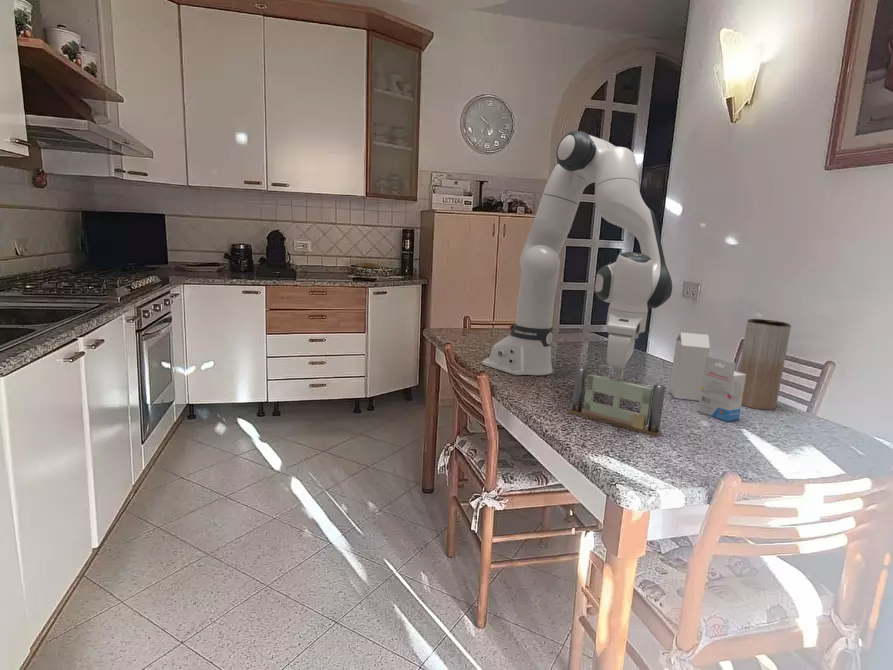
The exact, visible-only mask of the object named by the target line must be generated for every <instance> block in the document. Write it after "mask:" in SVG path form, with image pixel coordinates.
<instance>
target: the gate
mask: <svg viewBox="0 0 893 670" xmlns="http://www.w3.org/2000/svg"><path fill="white" fill-rule="evenodd" d="M585 383H586V384H585V390H584V399H583V402H584V403H583V409H584V410H588V411H592V412H596V413H599V414H603V415H607V416H610V417H614V418H618V419H622V420H625V421H629V422H633V417H634V414H635V413H636V414H640V415H644V416H646V419H645V426H648V424H649V416H650V409H651V402H652V394H653V387H649V386H645V385H641V384H635V383H631V382H628V381H623V380H616V379H614V378H609V377H604V376H601V375H600V376H599V375H596V374H592V373H588V374H586V381H585ZM595 392H596V393H600V394H603V395H604V394H605V395H608V396H612V397H613V400H612V405H608V404H603V403H600V402H597V401H594V396H595ZM621 399H624V400H629V401H633V402H636V403H641V406H640V413H639V412H634V411H632V410H631V411H630V410H626V409H623V408H620V404H621Z"/></svg>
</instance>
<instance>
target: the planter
mask: <svg viewBox="0 0 893 670" xmlns="http://www.w3.org/2000/svg"><path fill="white" fill-rule="evenodd" d="M791 328H792V325H791V324H790V323H788V322H784V321H779V320H771V319H760V318H750V319H747V321H746V327H745V334H744V340H743V346H742V350H741V357H740V362H739V363H740V364H739V367H738V368H739V369H738V372H739V373H743V374H746V379H745V385H744V391H743V397H742V403H741V406H743V407H747V408H751V409H755V410H764V411H767V410H768V411H771V410H774V409H776V408H777V403H778V398H779V393H780V388H781V387H780V386H781V383H782V377H783V372H784V367H785V362H786V356H787V350H788V349H787V348H788V345H789V340H790V339H789V338H790V334H791Z"/></svg>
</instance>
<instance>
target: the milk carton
mask: <svg viewBox="0 0 893 670" xmlns="http://www.w3.org/2000/svg"><path fill="white" fill-rule="evenodd" d="M709 337H710V336H709V330H704V329H703V330H702V329H693V328H692V329H691V328H683V327H682V328H680V332H679V334H678V336H677V338H676V340H675V347H674V354H673V360H672V368H671V375H670V382H669V383H670V384H669V392H670V394H671V396H672V397H673V398H674V399H679V400H687V401H698V402H699V401H700V394H701V388H702V381H703V374H704V368H705V364H706V357H707V356H710V348H711V345H710V339H709Z"/></svg>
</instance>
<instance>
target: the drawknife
mask: <svg viewBox="0 0 893 670" xmlns="http://www.w3.org/2000/svg"><path fill="white" fill-rule="evenodd" d="M586 378H587V368H585V367H580V366H579V367H575V375H574V385H573V393H572V395H573V396H572V404H571V408H569V409H568V413H570V414H571V415H572V414H573V415H576V416H580V417H583V418H588V419H591V420H594V421H598V422H601V423H604V424H608V425H612V426H616V427H618V428H624V429H627V430H630V431H633V432H637V433H640V434H645V435H648V436H652V437H658V436H659V435H661V433H662V429H661V421H662V414H663V407H664V399H665V392H666V386H665V385H663V384H658V383H657V384H656V383H655V384H653V387H652V388H653V392H652V400H651V407H650V414H649V422H648V425H647V426H645V419H646V416H644V415H640V413H639V414H636V413H637V412H635V414H634V417H633V422H629V421H625V420H622V419H618V418H614V417H610V416H607V415H603V414H599V413H596V412H592V411H588V410H584V408H583V405H584V403H583V402H584V396H585V387H586V384H585V383H586Z"/></svg>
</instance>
